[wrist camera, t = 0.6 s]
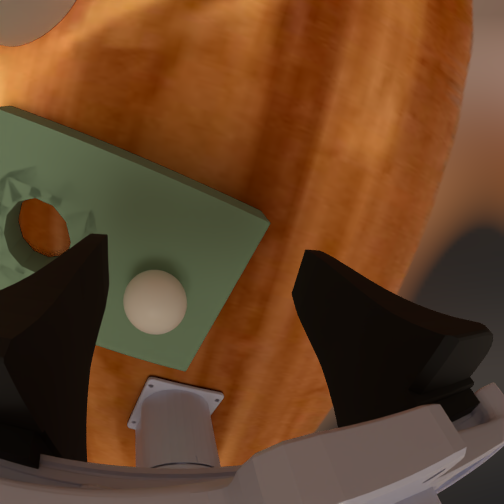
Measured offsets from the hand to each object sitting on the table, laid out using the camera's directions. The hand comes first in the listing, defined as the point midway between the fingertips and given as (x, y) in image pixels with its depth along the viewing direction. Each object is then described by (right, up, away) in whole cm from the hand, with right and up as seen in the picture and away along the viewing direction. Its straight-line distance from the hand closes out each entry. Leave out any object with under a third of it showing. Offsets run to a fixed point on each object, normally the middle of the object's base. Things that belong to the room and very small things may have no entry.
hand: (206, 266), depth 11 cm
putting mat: (-10, +1, +10) cm, 14 cm away
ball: (-4, -3, +8) cm, 9 cm away
